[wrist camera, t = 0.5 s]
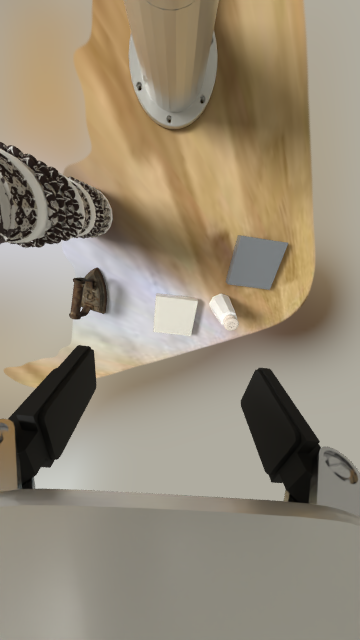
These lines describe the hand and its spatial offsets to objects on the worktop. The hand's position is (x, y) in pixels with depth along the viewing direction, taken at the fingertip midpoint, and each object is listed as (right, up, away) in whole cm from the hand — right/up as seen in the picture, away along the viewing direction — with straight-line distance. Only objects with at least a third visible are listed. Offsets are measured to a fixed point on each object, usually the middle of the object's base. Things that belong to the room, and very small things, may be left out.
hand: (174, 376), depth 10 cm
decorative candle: (-17, +25, +24) cm, 39 cm away
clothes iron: (-20, +11, +32) cm, 39 cm away
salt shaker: (+10, +8, +34) cm, 36 cm away
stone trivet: (-1, +5, +35) cm, 35 cm away
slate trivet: (+17, +16, +29) cm, 37 cm away
